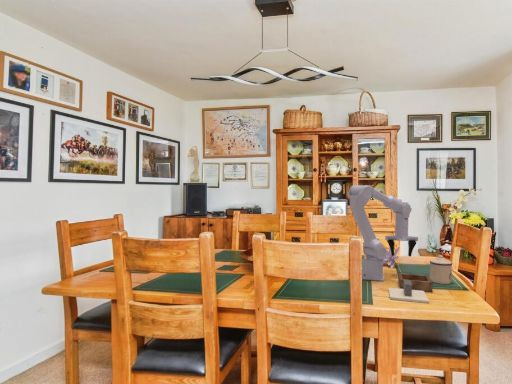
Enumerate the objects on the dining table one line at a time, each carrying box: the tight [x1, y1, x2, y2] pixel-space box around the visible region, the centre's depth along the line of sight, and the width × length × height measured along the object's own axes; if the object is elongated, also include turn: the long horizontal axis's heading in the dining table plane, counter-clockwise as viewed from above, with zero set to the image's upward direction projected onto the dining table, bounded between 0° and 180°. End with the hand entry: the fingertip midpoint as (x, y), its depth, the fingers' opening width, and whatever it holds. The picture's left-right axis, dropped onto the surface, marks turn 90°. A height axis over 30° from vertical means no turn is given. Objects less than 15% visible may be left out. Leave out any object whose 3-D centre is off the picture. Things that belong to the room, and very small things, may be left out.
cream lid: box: [388, 280, 430, 304], centre depth 138 cm, size 13×13×6 cm
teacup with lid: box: [429, 254, 453, 285], centre depth 162 cm, size 12×9×12 cm
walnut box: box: [397, 272, 434, 293], centre depth 151 cm, size 12×12×4 cm
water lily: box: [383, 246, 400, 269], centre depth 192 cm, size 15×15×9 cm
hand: (401, 255), depth 170 cm, fingers open, 7 cm apart
